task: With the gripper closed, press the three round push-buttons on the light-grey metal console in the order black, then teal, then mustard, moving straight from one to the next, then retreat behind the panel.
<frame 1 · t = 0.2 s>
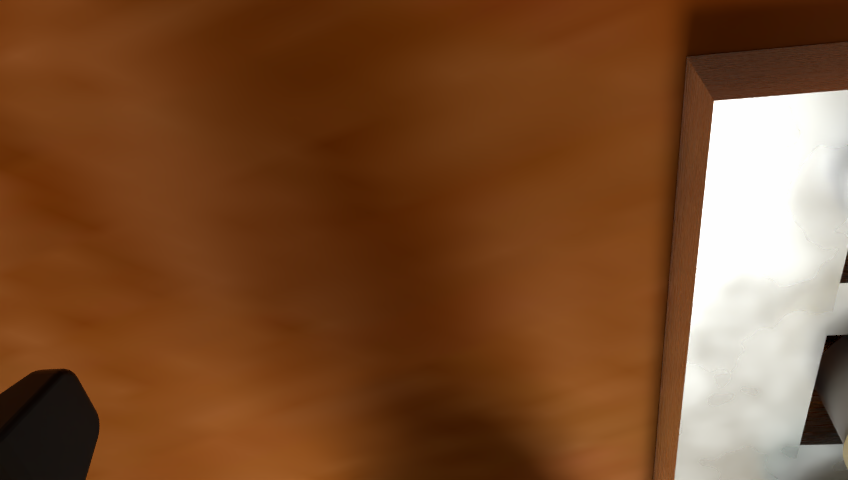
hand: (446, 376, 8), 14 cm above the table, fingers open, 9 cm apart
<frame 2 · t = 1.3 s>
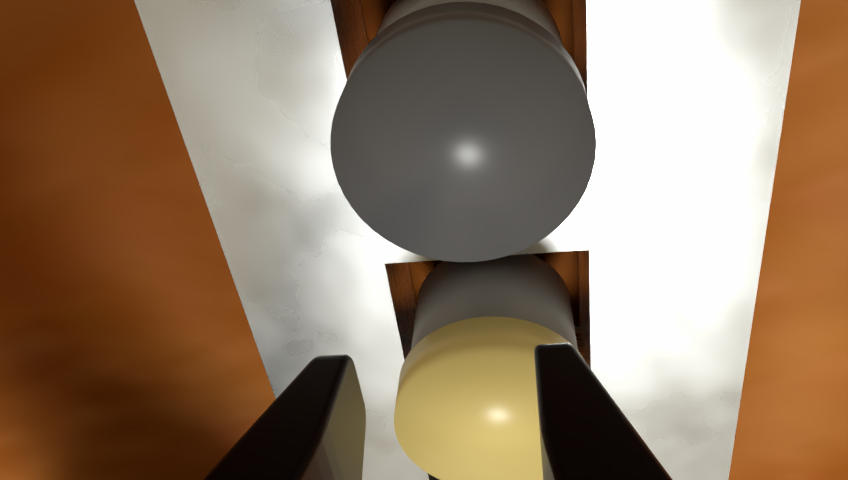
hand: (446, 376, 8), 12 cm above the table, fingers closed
console panel: (492, 265, 22), on the table
button mustard: (493, 363, 18), point 4 cm above the table, slide at 0.0 cm
button black: (464, 105, 14), point 4 cm above the table, slide at 0.0 cm
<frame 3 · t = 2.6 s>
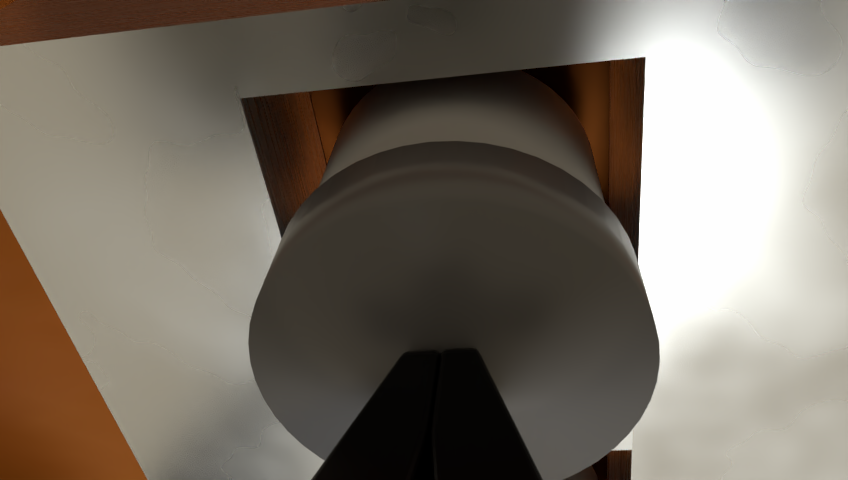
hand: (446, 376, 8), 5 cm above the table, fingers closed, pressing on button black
console panel: (495, 420, 17), on the table
button black: (456, 262, 10), point 3 cm above the table, slide at -0.7 cm, touching gripper
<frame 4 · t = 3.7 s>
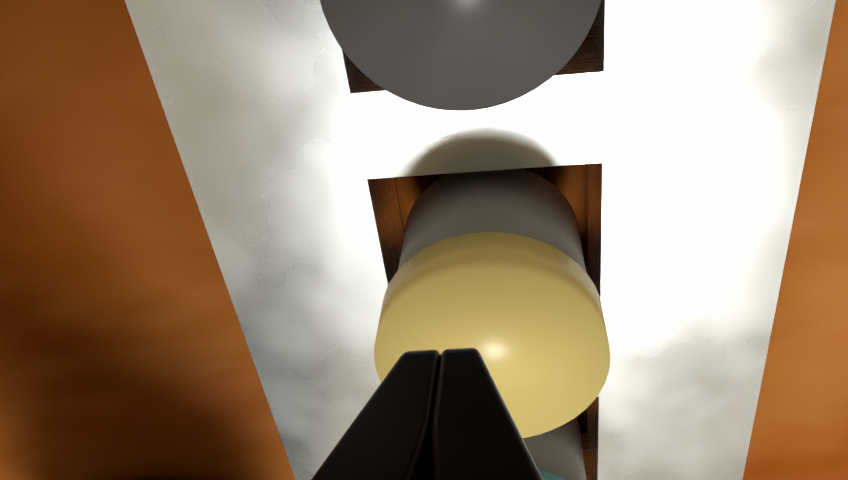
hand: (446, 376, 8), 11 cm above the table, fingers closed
console panel: (491, 196, 19), on the table
button mustard: (490, 295, 16), point 4 cm above the table, slide at 0.0 cm
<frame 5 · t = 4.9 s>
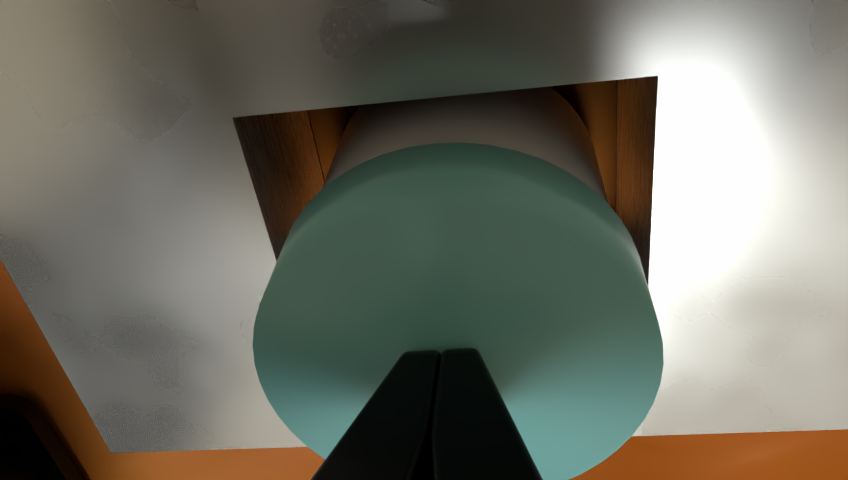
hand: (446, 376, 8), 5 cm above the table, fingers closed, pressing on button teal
button teal: (460, 263, 10), point 3 cm above the table, slide at -1.2 cm, touching gripper
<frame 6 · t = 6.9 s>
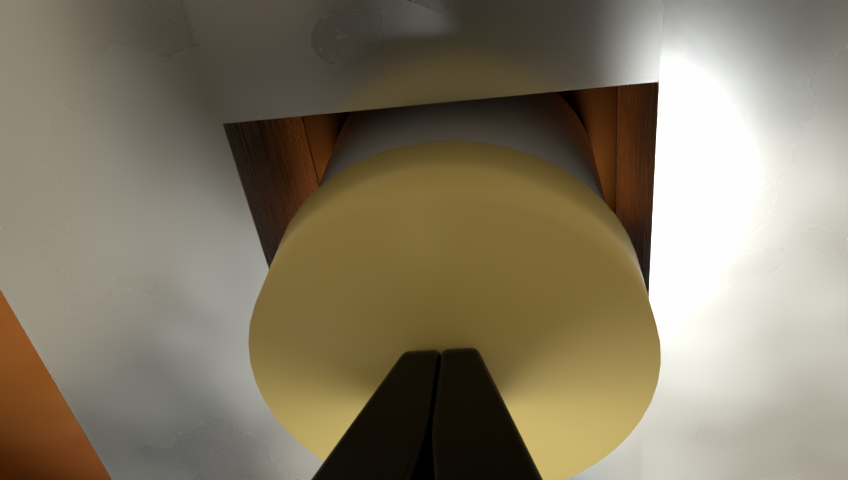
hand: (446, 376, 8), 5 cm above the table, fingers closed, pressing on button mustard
console panel: (462, 167, 12), on the table
button mustard: (457, 262, 10), point 3 cm above the table, slide at -1.4 cm, touching gripper
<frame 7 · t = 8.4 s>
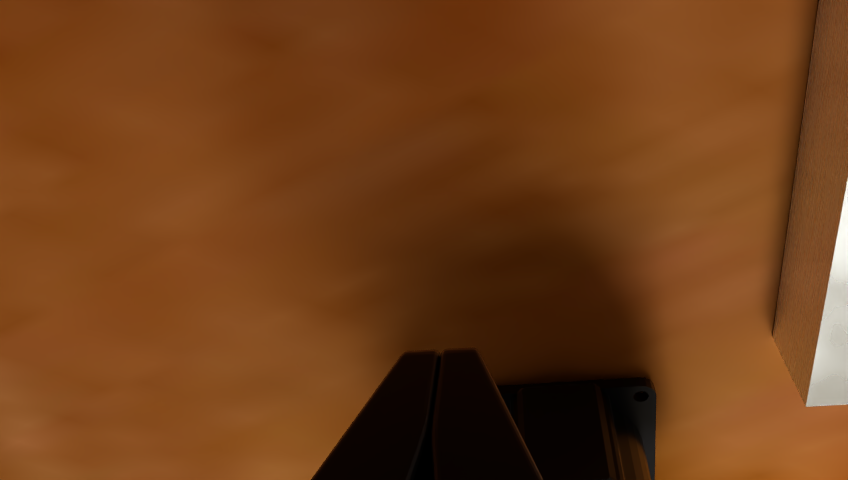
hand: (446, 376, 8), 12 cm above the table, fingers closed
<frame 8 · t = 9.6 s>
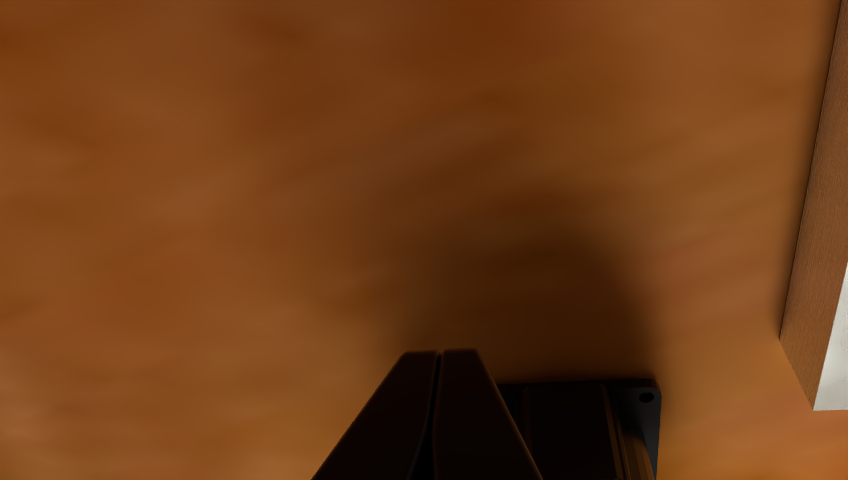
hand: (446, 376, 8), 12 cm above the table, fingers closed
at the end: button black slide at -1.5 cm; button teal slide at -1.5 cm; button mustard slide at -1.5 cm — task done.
